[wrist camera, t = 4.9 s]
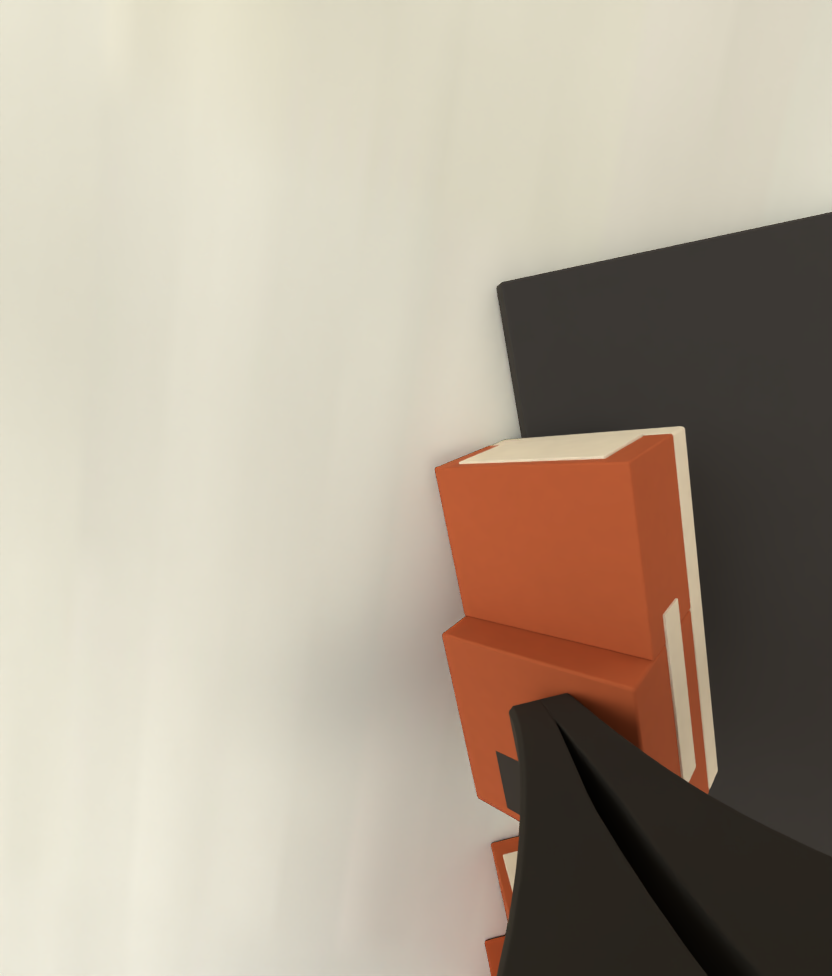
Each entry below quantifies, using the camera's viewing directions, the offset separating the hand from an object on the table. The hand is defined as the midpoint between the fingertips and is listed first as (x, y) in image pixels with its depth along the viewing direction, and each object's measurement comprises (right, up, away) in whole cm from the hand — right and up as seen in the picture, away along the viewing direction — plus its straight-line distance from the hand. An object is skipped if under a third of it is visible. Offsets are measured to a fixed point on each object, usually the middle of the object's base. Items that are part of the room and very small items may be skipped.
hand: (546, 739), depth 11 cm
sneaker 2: (-1, +2, +4) cm, 4 cm away
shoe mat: (+8, -1, +6) cm, 10 cm away
